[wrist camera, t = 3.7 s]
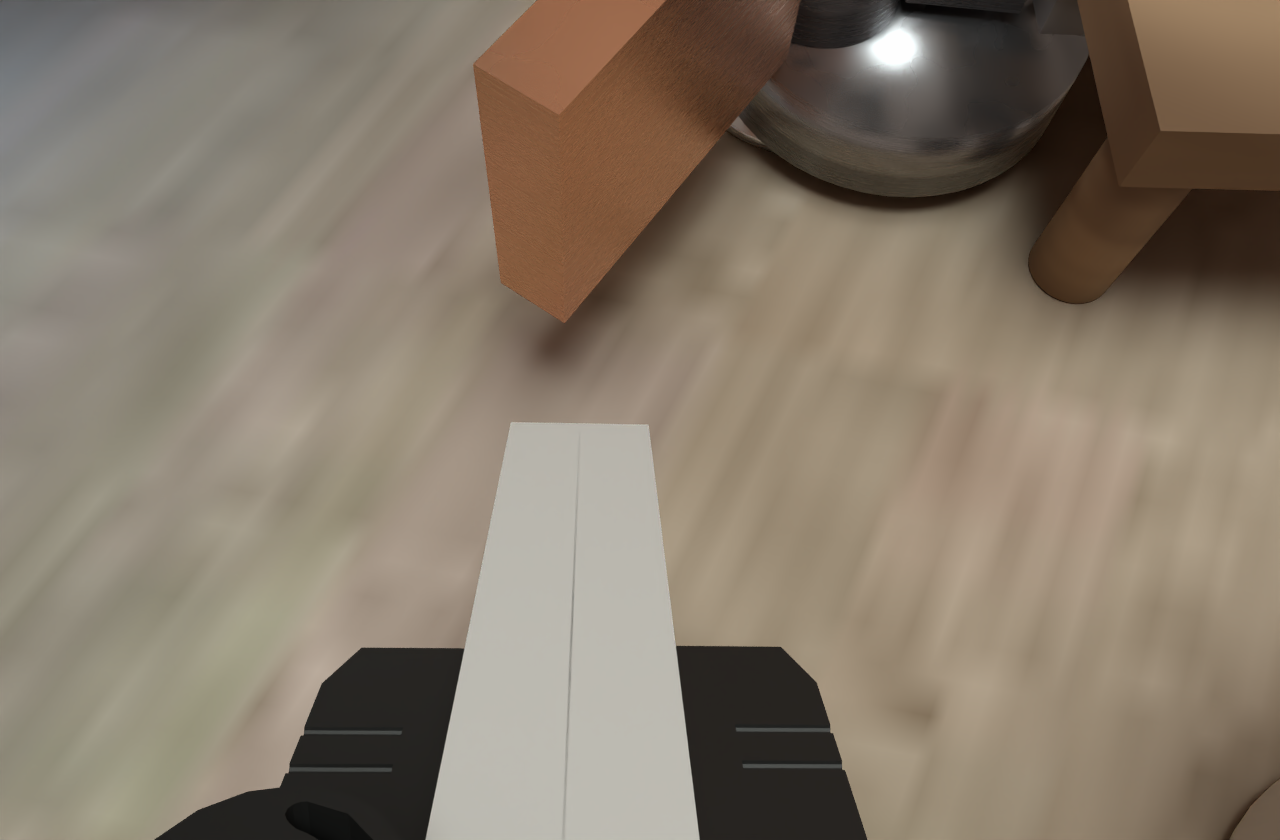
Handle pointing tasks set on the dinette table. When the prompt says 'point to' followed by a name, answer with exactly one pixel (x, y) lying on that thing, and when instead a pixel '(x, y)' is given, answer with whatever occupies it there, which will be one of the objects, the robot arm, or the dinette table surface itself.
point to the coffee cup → (1261, 818)
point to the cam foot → (744, 110)
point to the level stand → (1161, 125)
